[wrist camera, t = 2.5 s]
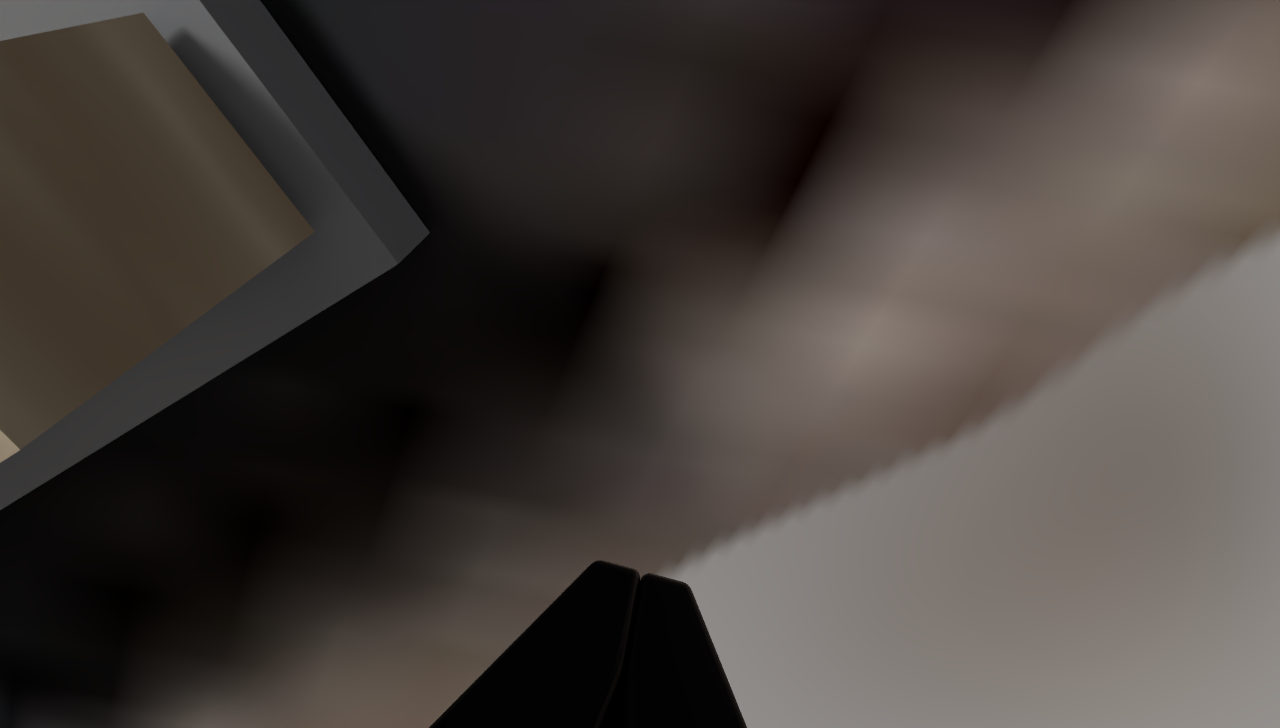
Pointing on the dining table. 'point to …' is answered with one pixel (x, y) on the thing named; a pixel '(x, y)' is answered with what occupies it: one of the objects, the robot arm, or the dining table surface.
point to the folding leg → (115, 213)
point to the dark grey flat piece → (298, 162)
